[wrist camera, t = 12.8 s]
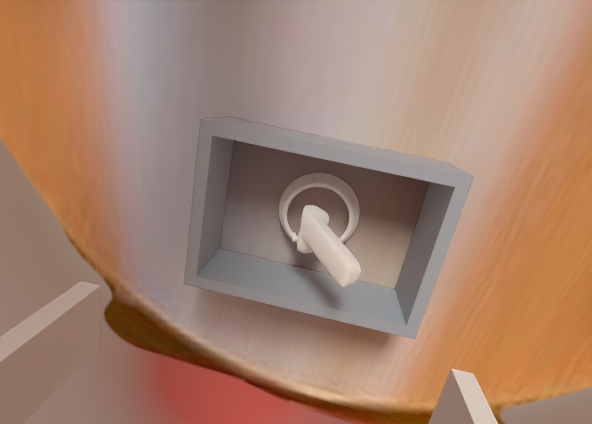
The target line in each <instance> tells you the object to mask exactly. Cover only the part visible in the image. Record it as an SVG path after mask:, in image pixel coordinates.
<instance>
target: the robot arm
mask: <svg viewBox="0 0 592 424" xmlns="http://www.w3.org/2000/svg"><path fill="white" fill-rule="evenodd" d="M99 346H100V285H95V284H91V283H87V282H83V281H80V282H79V283H78V284H76V285H75V286H73V287H72V288H70V289H69V290H67V291H66V292H65V293H63V294H62V295H61V296H59V297H57V298H56V299H54V300H53V301H52V302H50V303H49V304H47V305H46V306H44V307H43V308H41V309H40V310H39V311H37V312H36V313H34V314H33V315H31V316H30V317H28V318H27V319H26V320H24V321H22V322H21V323H20V324H18V325H17V326H15V327H14V328H12V329H11V330H9V331H8V332H7V333H5V334H4V335H2V336H1V337H0V424H23V423H24V422H25V421H26V420H27V419H28V417H30V416H31V414H32V413H33V412H35V411H36V410H37V409H38V408H39V406H40V405H41V404H42V403H43V402H44V401H45V400H46V399H47V398H48V397H49V396H50V395H51V394H52V393H53V392H54V391H55V390H56V389H57V388H58V387H59V386H60V385H61V384H62V383H63V382H64V381H65V380H66V379H67V378H68V377H69V376H70V375H71V374H72V373H73V372H74V371H75V370H76V369H77V368H78V367H79V366H80V365H81V364H82V363H83V362H84V361H85V360H86V359H87V358H88V357H89V356H90V355H91V354H92V353H93V352H94V351H95V350H96V349H97V348H98V347H99ZM429 424H498V423H497V421H496V419H495V417H494V415H493V413H492V411H491V409H490V407H489V405H488V403H487V401H486V399H485V397H484V395H483V392H482V390H481V388H480V386H479V384H478V382H477V380H476V378H475V376H474V374H473V373H469V372H464V371H460V370H456V369H452V368H451V371H450V373H449V375H448V378H447V380H446V383H445V385H444V387H443V390H442V392H441V395H440V397H439V399H438V402H437V404H436V407H435V409H434V412H433V414H432V416H431V419H430V421H429Z"/></svg>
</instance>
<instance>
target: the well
mask: <svg viewBox="0 0 592 424" xmlns="http://www.w3.org/2000/svg"><path fill="white" fill-rule="evenodd" d="M234 140H235V141H240V142H245V143H250V144H254V145H259V146H264V147H268V148H273V149H278V150H282V151H287V152H292V153H297V154H301V155H306V156H311V157H315V158H320V159H325V160H330V161H334V162H339V163H344V164H348V165H353V166H358V167H363V168H367V169H372V170H377V171H381V172H386V173H391V174H395V175H400V176H405V177H410V178H414V179H419V180H424V181H428V182H430V184H429V187H428V190H427V193H426V196H425V199H424V202H423V205H422V208H421V211H420V215H419V218H418V221H417V224H416V227H415V230H414V233H413V236H412V239H411V242H410V245H409V248H408V252H407V255H406V258H405V261H404V264H403V267H402V270H401V273H400V276H399V279H398V282H397V285H396V289H392V288H387V287H383V286H379V285H374V284H370V283H366V282H361V281H357V280H356V281H355V282H354V283H353V284H351V285H348V286H345V287H340V286H339V285H338V284H337V283H336V282H335V281H334V279H333V278H332V277H331V275H330V274H327V273H323V272H318V271H314V270H310V269H305V268H301V267H297V266H292V265H288V264H284V263H279V262H275V261H271V260H267V259H262V258H258V257H254V256H249V255H245V254H241V253H236V252H232V251H228V250H223V249H220V243H221V235H222V228H223V220H224V213H225V205H226V197H227V190H228V182H229V175H230V167H231V160H232V152H233V145H234ZM473 178H474V176H472V175H470V174H468V173H467V172H465V171H463V170H461V169H459V168H457V167H455V166H453V165H452V164H450V163H447V162H442V161H437V160H432V159H428V158H423V157H418V156H413V155H408V154H404V153H399V152H394V151H389V150H384V149H380V148H375V147H370V146H365V145H360V144H356V143H351V142H346V141H341V140H336V139H332V138H327V137H322V136H317V135H312V134H308V133H303V132H298V131H293V130H288V129H284V128H279V127H274V126H269V125H264V124H260V123H255V122H250V121H245V120H240V119H236V118H231V117H217V118H207V119H200V129H199V139H198V149H197V159H196V169H195V179H194V190H193V200H192V210H191V220H190V230H189V240H188V250H187V260H186V270H185V280H184V284H186V285H190V286H194V287H199V288H203V289H207V290H211V291H215V292H219V293H224V294H228V295H232V296H236V297H240V298H244V299H249V300H253V301H257V302H261V303H265V304H270V305H274V306H278V307H282V308H286V309H290V310H295V311H299V312H303V313H307V314H311V315H315V316H320V317H324V318H328V319H332V320H336V321H340V322H345V323H349V324H353V325H357V326H361V327H366V328H370V329H374V330H378V331H382V332H386V333H391V334H395V335H399V336H403V337H407V338H411V339H415V337H416V335H417V332H418V329H419V326H420V324H421V321H422V318H423V315H424V313H425V310H426V307H427V304H428V302H429V299H430V296H431V294H432V291H433V288H434V285H435V283H436V280H437V277H438V274H439V272H440V269H441V266H442V263H443V261H444V258H445V255H446V252H447V250H448V247H449V244H450V241H451V239H452V236H453V233H454V230H455V228H456V225H457V222H458V219H459V217H460V214H461V211H462V208H463V206H464V203H465V200H466V198H467V195H468V192H469V189H470V187H471V184H472V181H473Z"/></svg>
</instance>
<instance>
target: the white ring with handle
mask: <svg viewBox="0 0 592 424" xmlns="http://www.w3.org/2000/svg"><path fill="white" fill-rule="evenodd" d="M312 187H323V188H327V189H330V190H332V191H334V192H336V193H337V194H338V195H339V196H340V197H341V198H342V199H343V200H344V202H345V203H346V205H347V208H348V211H349V223H348V226H347V229H346V231H345V232H344V234H343V235H342V236H341V237H340V238H338V237H337V236H336V235H335V234H334V233H333V231H332V230H331V229H330V228H329V227H328V226H327V225H328V223H329V215H328V214H327V213H326V212H325V211H324V210H322V209H320V208H319V207H317V206H314V205H305V208H304V209H303V214H302V219H301V225H300V231H299V234H298V235H296V232H294V233H293V232H292V230H291V229H290V227H289V224H288V220H287V211H288V207H289V205H290V203H291V201H292V199H293V198H294V197H295V196H296V195H297V194H298V193H299V192H301V191H303V190H305V189H308V188H312ZM359 216H360V208H359V202H358V199H357V197H356V195H355V193H354V191H353V190H352V188H351V187H350V186H349V185H348V184H347V183H346V182H344V181H343V180H342V179H340V178H338V177H336V176H334V175H331V174H328V173H319V172H317V173H309V174H306V175H303V176H301V177H299V178H297V179H295V180H294V181H293V182H292V183H291V184H289V185H288V187H287V188H286V189H285V191H284V192H283V195H282V197H281V199H280V203H279V218H280V222H281V224H282V227H283V229H284V230H285V232H286V234H287V235H288V236H289V237H290V238H291V239H292V242H295V243H297V250H298V251H300V252H302V253H312V252H314V254H315V255H316V256H317V258H318V259H319V261H320V262H321V263H322V265H323V266H324V267H325V269H326V270H327V271H328V273H329V274H330V275H331V277H332V278H333V279H334V281H335V282H336V283H337V284H338V285H339V286H340V287H345V286H348V285H351V284H353V283H354V282H355V281H356V280H357V279H358V277H359V276H360V273H361V267H360V265H359V263H358V261H357V260H356V259H355V257H354V256H353V255H352V254H351V252H350V251H349V250H348V249H347V248H346V247H345V245H344V244H343V243H344V242H345V241H346V240H348V239H349V237H350V236H351V235H352V234H353V232H354V231H355V229H356V227H357V224H358V222H359Z"/></svg>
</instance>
